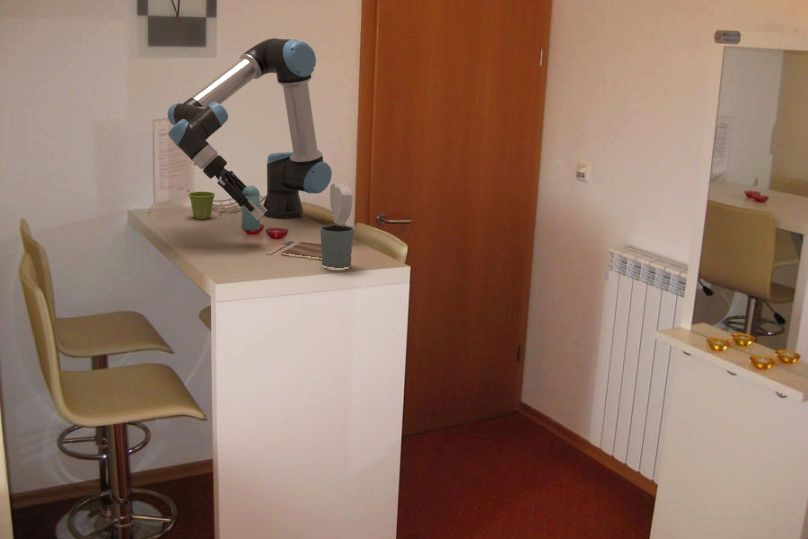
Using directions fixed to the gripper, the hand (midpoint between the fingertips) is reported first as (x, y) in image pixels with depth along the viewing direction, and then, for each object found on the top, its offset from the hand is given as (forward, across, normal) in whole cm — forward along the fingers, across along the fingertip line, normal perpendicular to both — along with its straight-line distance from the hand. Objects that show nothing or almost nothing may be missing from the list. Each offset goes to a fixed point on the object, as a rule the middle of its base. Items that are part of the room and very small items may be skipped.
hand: (262, 215), depth 296 cm
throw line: (+11, +2, -3) cm, 12 cm away
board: (+19, +5, +5) cm, 20 cm away
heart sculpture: (+24, -16, +9) cm, 30 cm away
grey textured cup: (+25, +21, +11) cm, 35 cm away
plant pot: (-13, -36, -27) cm, 47 cm away
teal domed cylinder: (+1, 0, -6) cm, 6 cm away
